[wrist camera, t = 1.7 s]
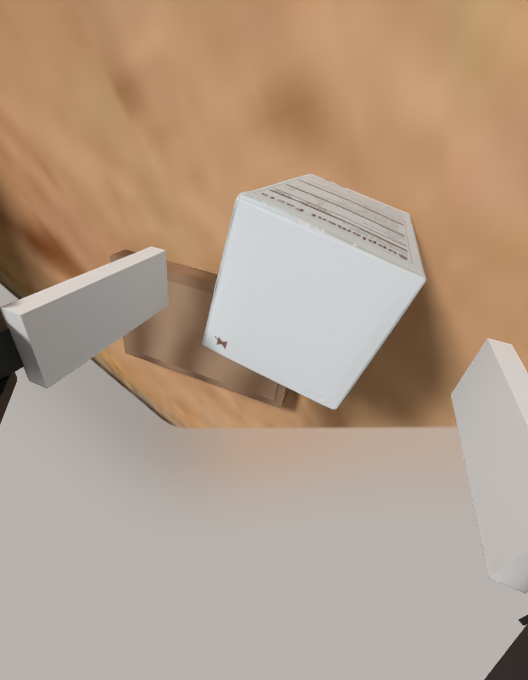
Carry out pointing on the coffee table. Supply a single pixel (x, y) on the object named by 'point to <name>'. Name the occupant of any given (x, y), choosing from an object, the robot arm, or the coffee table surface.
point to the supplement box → (312, 284)
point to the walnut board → (194, 337)
